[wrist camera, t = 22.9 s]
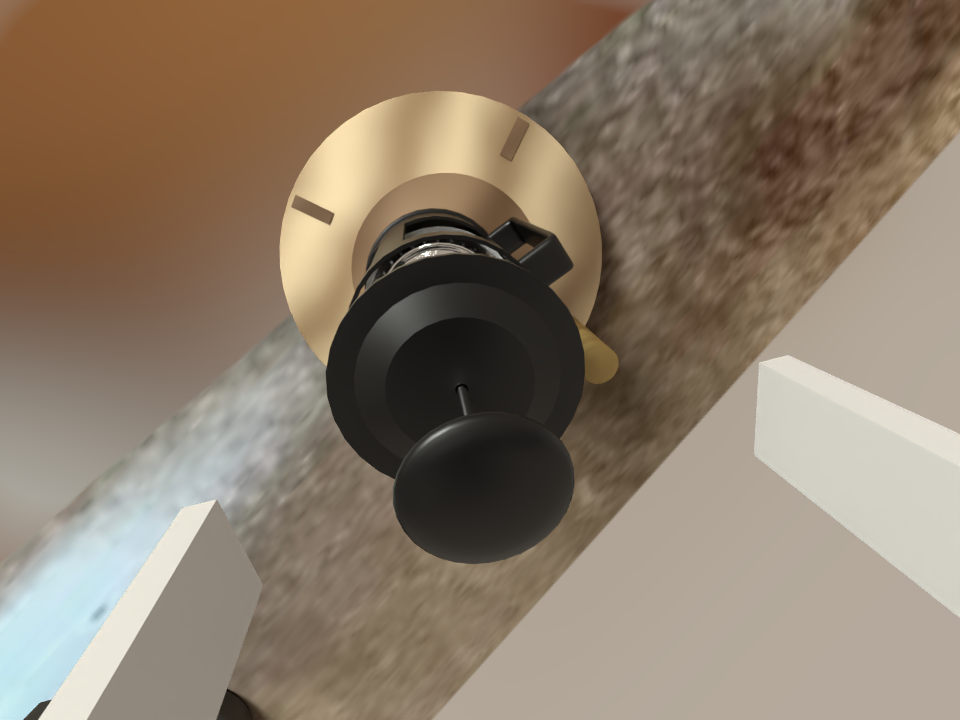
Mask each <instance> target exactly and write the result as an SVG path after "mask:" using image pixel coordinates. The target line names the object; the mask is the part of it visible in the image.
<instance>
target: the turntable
mask: <svg viewBox="0 0 960 720" xmlns="http://www.w3.org/2000/svg"><path fill="white" fill-rule="evenodd" d="M428 208H438V209H447V210H451V211H455V212H458V213H461V214H463V215H465V216H467V217H469V218H471V219H472V220H474V221H475V222H476V223H477V224H479V225H480V226H481V227H482V228H484V230H485V231H486V232H487V233H488V234H490V233H491V232H492V231H494V230H495V229H496V228H498V227H499V226H500V225H502V224H503V223H504V222H505V221H507V220H508V219H510V218H511V217H516V218H519V219H521V220H524V221H526V222H528V223H531V224H533V225H536V226H538V227H540V228H543V229H545V230H548V231H550V232H552V233H554V234H555V235H556V236H557V238H558V239H559V241H560V243H561V244H562V246H563V247H564V249H565V251H566V252H567V254H568V256H569V257H570V259H571V260H572V262H573V265H574V267H573V269H571V270H570V271H569V272H568V273H566V274H565V275H563V276H562V277H561V278H559V279H558V280H557V281H555V282H554V283H552V284H551V285H550V286H549V287H550V288H551V289H553V291H554V292H555V293H556V294H557V296H558V297H559V298H560V299H561V300H562V302H563V303H564V304H565V305H566V306H567V308H568V309H569V311H570V313H571V315H572V317H573V319H574V321H575V323H576V325H577V327H578V329H579V333H580V337H581V341H582V345H583V349H584V358H585V378H584V379H585V380H586V381H588V382H590V383H593V384H601V383H604V382H606V381H608V380H610V379H611V378H612V377H613V376H614V375H615V373H616V371H617V369H618V365H619V360H618V357H617V355H616V353H615V352H614V351H613V350H611V349H610V348H609V347H608V346H607V345H606V344H605V343H603V342H602V341H601V340H600V339H599V338H598V337H597V336H596V335H594V334H593V333H592V332H591V331H590V330H589V329H588V328H586V327H585V325H586V323H587V321H588V319H589V316H590V314H591V311H592V308H593V306H594V303H595V300H596V296H597V291H598V287H599V283H600V276H601V267H602V240H601V232H600V225H599V220H598V216H597V212H596V208H595V205H594V201H593V199H592V196H591V194H590V191H589V189H588V187H587V184H586V182H585V180H584V178H583V176H582V175H581V173H580V171H579V170H578V168H577V166H576V164H575V163H574V161H573V160H572V159H571V157H570V156H569V155H568V154H567V152H566V151H565V150H564V148H563V147H562V146H561V145H560V144H559V143H558V142H557V141H556V140H555V139H554V138H553V137H552V136H551V135H550V134H549V133H548V132H547V131H546V130H545V129H544V128H542V127H541V126H540V125H538V124H537V123H535V122H534V121H533V120H531V119H530V118H529V117H527V116H526V115H524V114H522V113H520V112H518V111H516V110H514V109H513V108H511V107H509V106H507V105H505V104H502V103H499V102H496V101H494V100H491V99H488V98H485V97H482V96H477V95H472V94H467V93H462V92H446V91H430V92H421V93H412V94H408V95H404V96H400V97H396V98H393V99H389V100H386V101H384V102H381V103H379V104H377V105H374V106H372V107H370V108H368V109H365V110H364V111H362V112H361V113H359V114H357V115H356V116H355V117H353V118H351V119H349V120H348V121H346V122H345V123H344V124H342V125H341V126H340V127H339V128H338V129H337V130H335V131H334V132H333V133H332V134H331V135H330V136H329V137H327V138H326V139H325V141H324V142H323V143H322V144H321V145H320V146H319V148H318V149H317V150H316V151H315V152H314V153H313V155H312V156H311V157H310V159H309V160H308V162H307V163H306V165H305V167H304V168H303V170H302V172H301V173H300V175H299V176H298V179H297V181H296V183H295V185H294V188H293V190H292V192H291V194H290V197H289V199H288V203H287V207H286V211H285V214H284V218H283V222H282V230H281V238H280V269H281V275H282V282H283V288H284V292H285V295H286V298H287V302H288V305H289V308H290V311H291V313H292V315H293V318H294V320H295V322H296V324H297V327H298V329H299V330H300V332H301V334H302V335H303V337H304V339H305V340H306V342H307V344H308V345H309V347H310V348H311V349H312V350H313V352H314V353H315V354H316V355H317V357H318V358H319V359H320V360H321V362H322V363H323V364H324V365H325V366H326V367H327V362H328V356H329V350H330V346H331V344H332V341H333V339H334V336H335V334H336V331H337V329H338V327H339V324H340V322H341V320H342V319H343V317H344V316H345V315H346V313H347V312H348V309H349V305H350V303H351V300H352V298H353V296H354V293H355V291H356V288H357V286H358V284H359V282H360V280H361V279H362V277H363V276H364V274H365V270H366V264H367V259H368V256H369V253H370V251H371V248H372V246H373V244H374V242H375V241H376V239H377V238H378V236H379V235H380V234H381V232H382V231H383V230H384V229H385V228H386V227H387V226H388V225H389V224H390V223H392V222H393V221H395V220H396V219H398V218H400V217H401V216H403V215H405V214H408V213H410V212H413V211H416V210H421V209H428ZM532 249H533V247H532V246H530V245H528V244H525V245H523V246H522V247H520V248H519V249H518V250H516V251H515V252H514V253H512V254H511V256H512V257H514V258H515V259H516V260H518V259H520V258H521V257H522V256H524V255H525V254H526V253H528V252H529V251H530V250H532ZM364 291H365V285H364V286H363V288H362V289H361V291H360V293H359V296H360V295H361V294H362V293H363V292H364ZM359 296H358V297H359Z"/></svg>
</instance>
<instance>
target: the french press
mask: <svg viewBox="0 0 960 720" xmlns="http://www.w3.org/2000/svg"><path fill="white" fill-rule="evenodd" d="M525 244H528V245H530V246H532V247H533V249H532V250H530V251H529V252H528V253H526V254H525V255H524V256H522V257H521V258H520V259H518V260H516V259H515V258H514V257H512V256H511V254H512V253H514V252H515V251H516V250H518V249H519V248H520V247H522V246H523V245H525ZM573 267H574V265H573V262H572V260H571V259H570V257H569V256H568V254H567V252H566V251H565V249H564V247H563V246H562V244H561V243H560V241H559V239H558V238H557V236H556V235H555V234H554V233H552V232H550V231H548V230H545V229H543V228H540V227H538V226H536V225H533V224H531V223H528V222H526V221H524V220H521V219H519V218H516V217H511V218H510V219H508V220H507V221H505V222H504V223H503V224H502V225H500V226H499V227H498V228H496V229H495V230H494V231H492V232H491V233H490V234H488V233H487V232H486V231H485V230H484V228H482V227H481V226H480V225H479V224H477V223H476V222H475V221H474V220H472V219H471V218H469V217H467V216H465V215H463V214H461V213H458V212H455V211H451V210H447V209H438V208H428V209H421V210H416V211H413V212H410V213H408V214H405V215H403V216H401V217H400V218H398V219H396V220H395V221H393V222H392V223H390V224H389V225H388V226H387V227H386V228H385V229H384V230H383V231H382V232H381V234H380V235H379V236H378V238H377V239H376V241H375V242H374V244H373V246H372V248H371V251H370V253H369V256H368V259H367V264H366V270H365V274H364V276H363V277H362V279H361V280H360V282H359V284H358V286H357V288H356V291H355V293H354V296H353V298H352V300H351V303H350V305H349V309H348V312H347V313H346V315H345V316H344V317H343V319H342V320H341V322H340V324H339V327H338V329H337V331H336V334H335V336H334V339H333V341H332V344H331V346H330V350H329V356H328V362H327V369H326V383H327V397H328V400H329V404H330V407H331V410H332V414H333V417H334V420H335V422H336V424H337V425H338V427H339V429H340V431H341V433H342V434H343V436H344V438H345V440H346V441H347V442H348V443H349V444H350V445H351V447H352V448H353V449H354V450H355V451H356V452H357V454H358V455H359V456H360V457H361V458H363V459H364V460H365V461H366V462H368V463H369V464H370V465H372V466H373V467H374V468H375V469H377V470H378V471H380V472H382V473H384V474H386V475H388V476H390V477H392V478H393V479H395V482H394V486H393V505H394V509H395V513H396V517H397V519H398V521H399V523H400V525H401V526H402V528H403V530H404V532H405V533H406V534H407V535H408V536H409V538H410V539H411V540H412V541H413V542H414V543H415V544H416V545H418V546H419V547H420V548H422V549H423V550H425V551H426V552H428V553H430V554H432V555H434V556H436V557H439V558H441V559H445V560H449V561H452V562H457V563H467V564H479V563H491V562H495V561H500V560H505V559H507V558H510V557H513V556H516V555H518V554H521V553H523V552H524V551H526V550H528V549H530V548H532V547H534V546H535V545H536V544H538V543H539V542H540V541H542V540H543V539H544V538H546V537H547V536H548V535H549V534H550V533H551V532H552V531H553V530H554V529H555V527H556V526H557V525H558V524H559V523H560V521H561V519H562V518H563V516H564V515H565V513H566V512H567V509H568V507H569V504H570V502H571V499H572V495H573V489H574V467H573V464H572V461H571V457H570V454H569V452H568V451H567V449H566V447H565V446H564V444H563V442H562V441H561V440H560V439H559V438H560V437H561V436H562V435H563V433H564V431H565V430H566V428H567V427H568V425H569V423H570V422H571V420H572V418H573V417H574V414H575V411H576V409H577V406H578V404H579V401H580V398H581V395H582V389H583V383H584V378H585V358H584V349H583V345H582V341H581V337H580V333H579V329H578V327H577V325H576V323H575V321H574V319H573V317H572V315H571V313H570V311H569V309H568V308H567V306H566V305H565V304H564V303H563V302H562V300H561V299H560V298H559V297H558V296H557V294H556V293H555V292H554V291H553V289H551V288H550V287H549V286H550V285H551V284H552V283H554V282H555V281H557V280H558V279H559V278H561V277H562V276H563V275H565V274H566V273H568V272H569V271H570V270H571V269H573ZM364 285H365V291H364V292H363V293H362V294H361V295H360V296H359V293H360V291H361V289H362V288H363V286H364ZM358 296H359V297H358Z"/></svg>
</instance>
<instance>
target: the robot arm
mask: <svg viewBox="0 0 960 720" xmlns="http://www.w3.org/2000/svg"><path fill="white" fill-rule="evenodd" d="M758 376H759V377H758V392H757V409H756V426H755V444H754V455H755V456H756V457H757V458H758V459H760V460H761V461H762V462H763V463H765V464H766V465H767V466H768V467H770V468H771V469H772V470H774V471H775V472H776V473H777V474H779V475H780V476H781V477H782V478H784V479H785V480H786V481H787V482H789V483H790V484H791V485H792V486H794V487H795V488H796V489H798V490H799V491H800V492H801V493H803V494H804V495H805V496H806V497H808V498H809V499H810V500H811V501H813V502H814V503H815V504H817V505H818V506H819V507H820V508H822V509H823V510H824V511H825V512H827V513H828V514H829V515H831V516H832V517H833V518H834V519H835V520H837V521H838V522H839V523H841V524H842V525H843V526H844V527H846V528H847V529H848V530H849V531H851V532H852V533H853V534H854V535H856V536H857V537H858V538H859V539H861V540H862V541H863V542H865V543H866V544H867V545H869V546H870V547H871V548H872V549H873V550H875V551H876V552H877V553H879V554H880V555H881V556H882V557H883V558H885V559H886V560H887V561H888V562H890V563H891V564H893V565H894V566H895V567H896V568H897V569H899V570H900V571H901V572H902V573H904V574H905V575H906V576H907V577H909V578H910V579H911V580H912V581H914V582H915V583H916V584H918V585H919V586H920V587H922V588H923V589H924V590H925V591H926V592H928V593H929V594H930V595H931V596H933V597H934V598H935V599H936V600H938V601H939V602H940V603H942V604H943V605H944V606H945V607H947V608H948V609H949V610H950V611H952V612H953V613H954V614H955V615H957V616H958V617H959V618H960V434H958V433H956V432H954V431H952V430H950V429H948V428H945V427H943V426H941V425H939V424H937V423H935V422H932V421H930V420H928V419H926V418H924V417H921V416H919V415H917V414H915V413H913V412H911V411H908V410H906V409H904V408H902V407H900V406H897V405H895V404H893V403H891V402H889V401H887V400H884V399H882V398H880V397H878V396H876V395H874V394H871V393H869V392H867V391H865V390H863V389H861V388H858V387H856V386H854V385H852V384H849V383H848V382H845V381H843V380H841V379H839V378H837V377H834V376H832V375H830V374H828V373H826V372H823V371H821V370H819V369H817V368H815V367H813V366H811V365H808V364H806V363H804V362H802V361H799V360H797V359H795V358H793V357H791V356H789V355H787V356H784V357H780V358H775V359H771V360H767V361H764V362H760V363H759V375H758ZM262 588H263V584H262V583H261V581H260V579H259V577H258V575H257V573H256V571H255V570H254V568H253V566H252V564H251V562H250V560H249V558H248V556H247V555H246V553H245V551H244V549H243V547H242V545H241V543H240V542H239V540H238V538H237V536H236V534H235V532H234V530H233V529H232V527H231V525H230V523H229V521H228V519H227V517H226V516H225V514H224V512H223V510H222V508H221V506H220V504H219V502H218V501H217V499H216V500H212V501H208V502H204V503H200V504H196V505H192V506H188V507H184V508H182V509H181V510H180V512H179V513H178V515H177V516H176V518H175V519H174V521H173V522H172V524H171V525H170V527H169V528H168V530H167V531H166V533H165V534H164V535H163V537H162V538H161V540H160V541H159V543H158V544H157V546H156V547H155V549H154V550H153V552H152V553H151V555H150V556H149V558H148V559H147V561H146V562H145V563H144V565H143V566H142V568H141V569H140V571H139V572H138V574H137V575H136V577H135V578H134V580H133V581H132V583H131V584H130V586H129V587H128V588H127V590H126V591H125V593H124V594H123V596H122V597H121V599H120V600H119V602H118V603H117V605H116V606H115V608H114V609H113V611H112V612H111V613H110V615H109V616H108V618H107V619H106V621H105V622H104V624H103V625H102V627H101V628H100V630H99V631H98V633H97V634H96V636H95V637H94V638H93V640H92V641H91V643H90V644H89V646H88V647H87V649H86V650H85V652H84V653H83V655H82V656H81V658H80V659H79V661H78V662H77V664H76V665H75V666H74V668H73V669H72V671H71V672H70V674H69V675H68V677H67V678H66V680H65V681H64V683H63V684H62V686H61V687H60V689H59V690H58V691H57V693H56V694H55V696H54V697H53V699H52V700H48V701H45V702H41V703H39V704H38V705H37V706H36V707H35V708H34V709H33V710H32V711H31V712H30V713H29V714H28V715H27V717H26V718H25V719H24V720H253V719H252V716H251V713H250V711H249V709H248V708H247V706H246V705H245V704H244V703H243V702H242V701H241V700H240V699H239V698H237V697H236V696H235V695H233V694H231V693H230V692H228V691H226V690H227V687H228V685H229V682H230V679H231V676H232V673H233V670H234V667H235V665H236V662H237V659H238V656H239V653H240V650H241V647H242V645H243V642H244V639H245V636H246V633H247V630H248V627H249V625H250V622H251V619H252V616H253V613H254V610H255V608H256V605H257V602H258V599H259V596H260V593H261V590H262Z"/></svg>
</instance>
